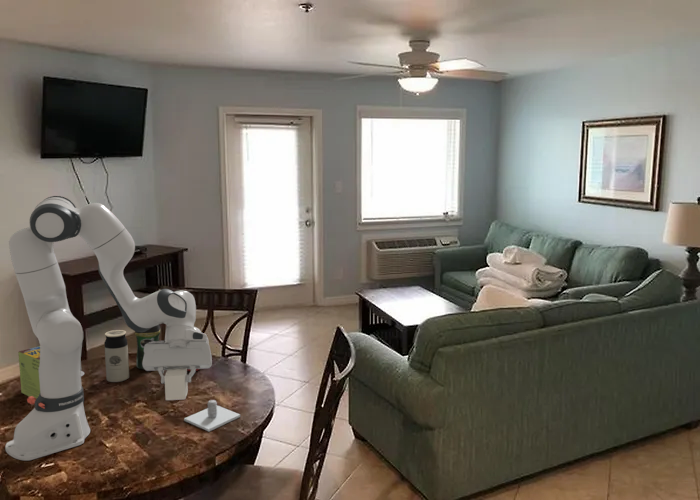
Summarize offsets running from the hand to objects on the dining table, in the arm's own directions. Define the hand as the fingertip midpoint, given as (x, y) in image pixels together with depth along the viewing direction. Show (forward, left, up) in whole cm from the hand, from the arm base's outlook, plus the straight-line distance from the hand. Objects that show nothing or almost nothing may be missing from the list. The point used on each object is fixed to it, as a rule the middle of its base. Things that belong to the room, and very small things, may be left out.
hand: (176, 382), depth 172 cm
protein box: (-8, +62, -18) cm, 66 cm away
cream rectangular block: (0, 0, -5) cm, 5 cm away
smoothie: (+39, +41, -18) cm, 59 cm away
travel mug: (+15, +55, -18) cm, 60 cm away
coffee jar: (+30, +57, -18) cm, 67 cm away
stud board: (+15, +1, -17) cm, 23 cm away
